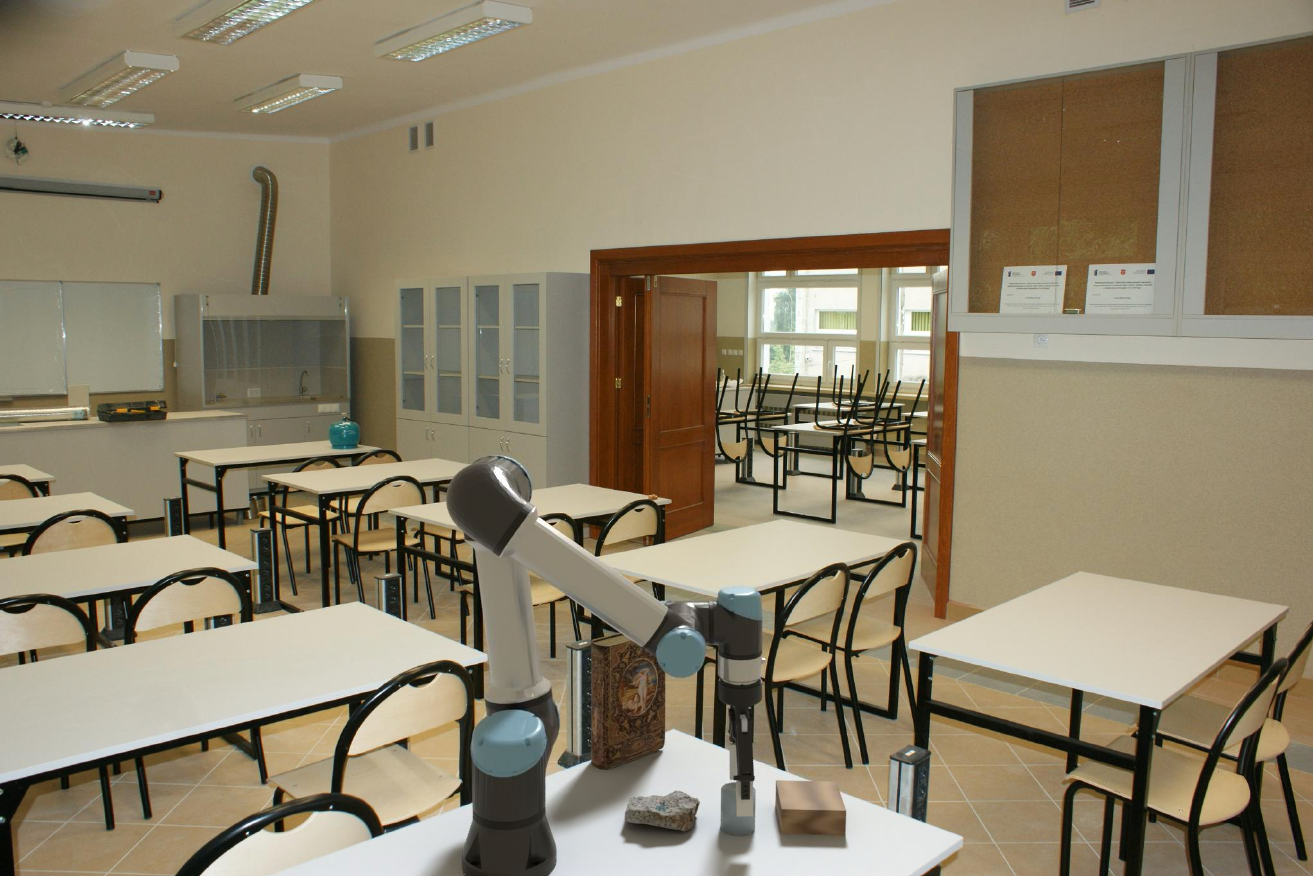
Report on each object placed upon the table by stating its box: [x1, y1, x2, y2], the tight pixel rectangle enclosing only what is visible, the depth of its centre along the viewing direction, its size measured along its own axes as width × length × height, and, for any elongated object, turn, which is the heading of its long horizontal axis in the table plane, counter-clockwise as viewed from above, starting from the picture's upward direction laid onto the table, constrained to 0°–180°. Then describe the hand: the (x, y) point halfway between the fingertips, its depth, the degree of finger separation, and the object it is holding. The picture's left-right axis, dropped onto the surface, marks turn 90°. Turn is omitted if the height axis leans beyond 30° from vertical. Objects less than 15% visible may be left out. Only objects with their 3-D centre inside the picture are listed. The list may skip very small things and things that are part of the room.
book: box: [590, 632, 666, 770], centre depth 197 cm, size 16×6×25 cm, turn 133°
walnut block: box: [775, 779, 847, 836], centre depth 172 cm, size 11×11×5 cm
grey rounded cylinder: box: [720, 781, 757, 837], centre depth 168 cm, size 6×6×7 cm
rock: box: [624, 790, 701, 832], centre depth 170 cm, size 13×10×5 cm
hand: (740, 796), depth 168 cm, fingers open, 13 cm apart
